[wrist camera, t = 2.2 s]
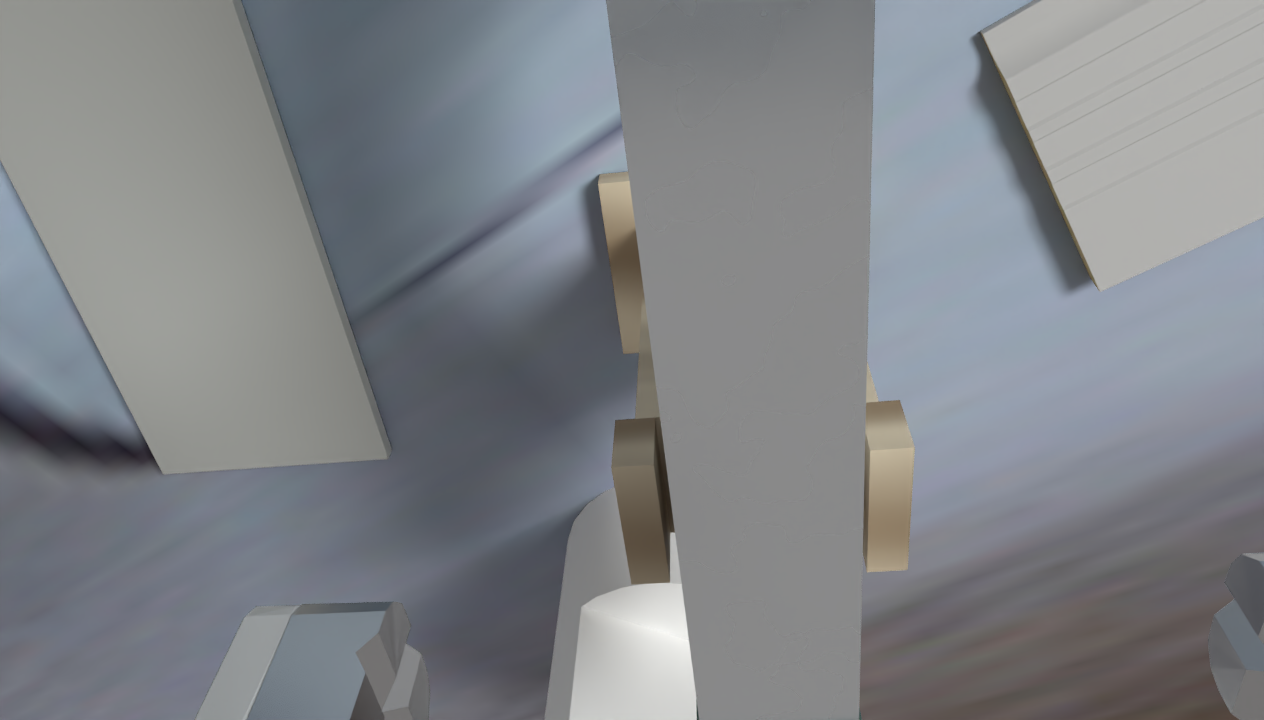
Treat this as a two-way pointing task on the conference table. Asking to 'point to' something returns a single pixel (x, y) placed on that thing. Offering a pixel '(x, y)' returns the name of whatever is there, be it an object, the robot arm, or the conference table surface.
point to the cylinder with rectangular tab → (617, 631)
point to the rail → (758, 329)
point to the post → (642, 440)
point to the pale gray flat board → (183, 230)
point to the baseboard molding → (1140, 120)
